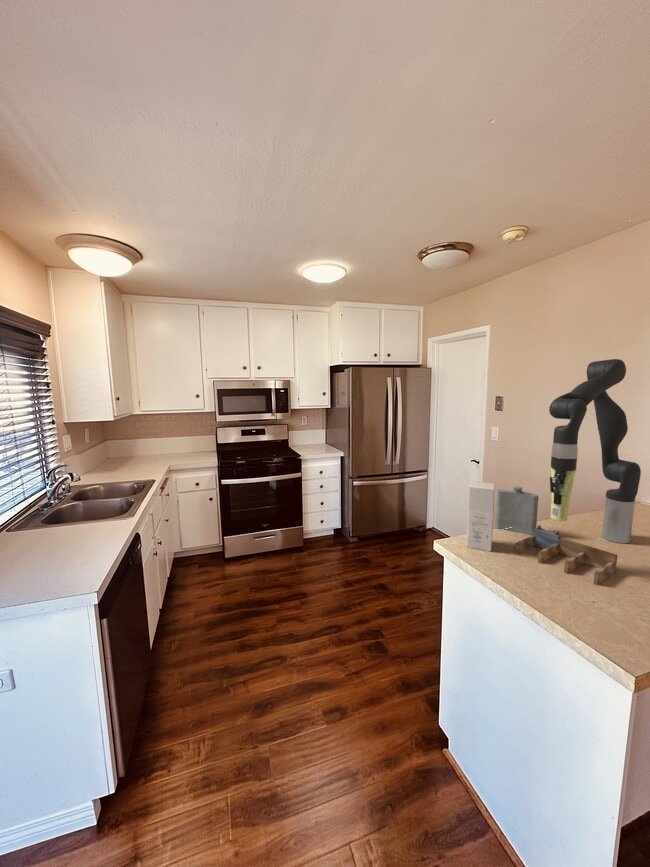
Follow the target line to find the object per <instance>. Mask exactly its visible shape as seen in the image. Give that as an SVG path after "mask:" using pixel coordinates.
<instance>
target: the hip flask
mask: <svg viewBox="0 0 650 867" xmlns="http://www.w3.org/2000/svg"><path fill="white" fill-rule="evenodd" d="M512 488H513V490H509V489H508V490H507V489H497V490H496V504H495V526H494V527H495V529H496V530H501V529H504V530H503V531H509V532H514V533H520V534H524V535H528V536H532V535H533V530H535V528H537V523H538V509H539V508H538V507H539V495H538V494H535V493H531V492H528V491H523V487H522V486H519V485H513V487H512ZM509 527H512V528H509ZM505 528H508V529H505Z"/></svg>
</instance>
